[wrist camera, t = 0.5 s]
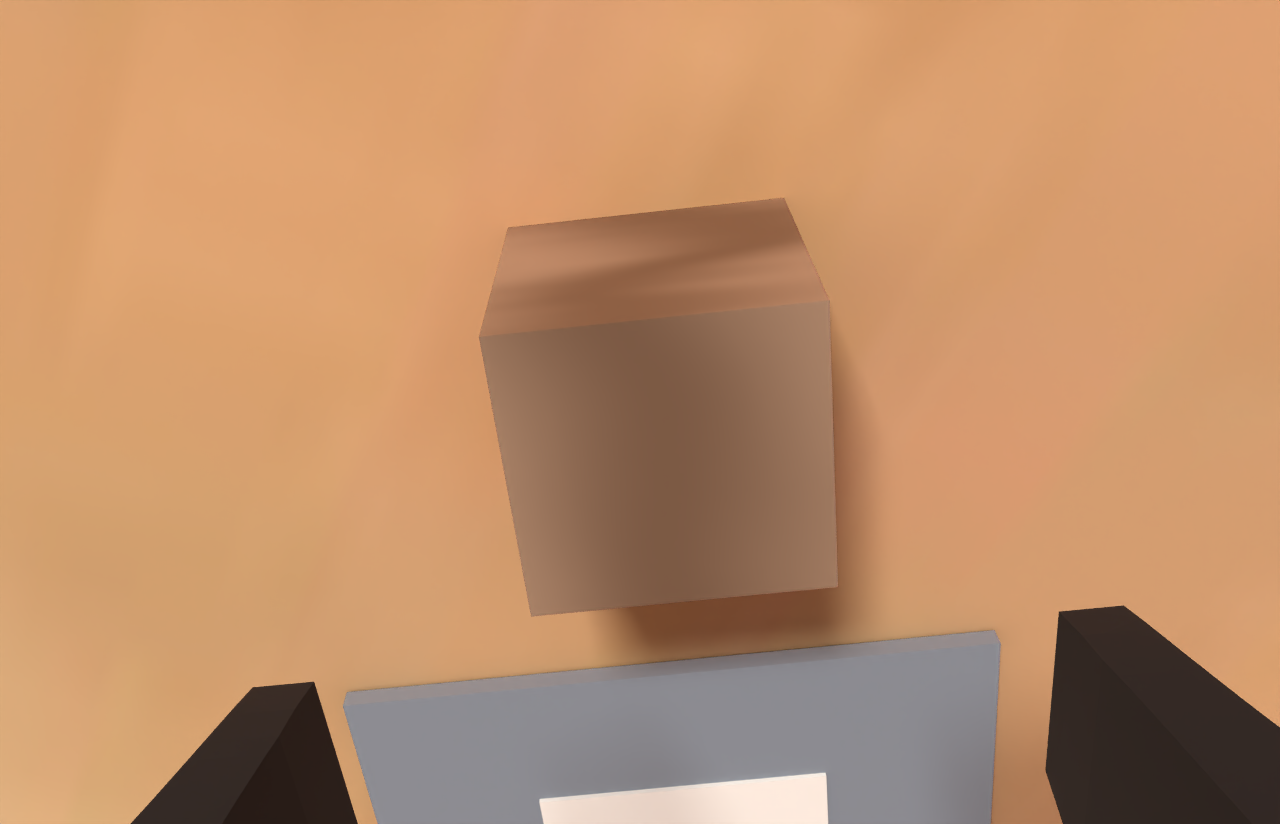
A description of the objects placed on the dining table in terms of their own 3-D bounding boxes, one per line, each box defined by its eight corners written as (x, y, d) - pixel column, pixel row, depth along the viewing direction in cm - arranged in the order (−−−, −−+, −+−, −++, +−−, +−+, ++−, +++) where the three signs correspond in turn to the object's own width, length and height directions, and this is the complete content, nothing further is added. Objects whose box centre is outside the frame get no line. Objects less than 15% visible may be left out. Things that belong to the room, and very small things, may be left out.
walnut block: (783, 196, 18) (829, 301, 14) (794, 437, 20) (838, 586, 16) (508, 226, 19) (478, 336, 15) (547, 462, 21) (530, 616, 17)
